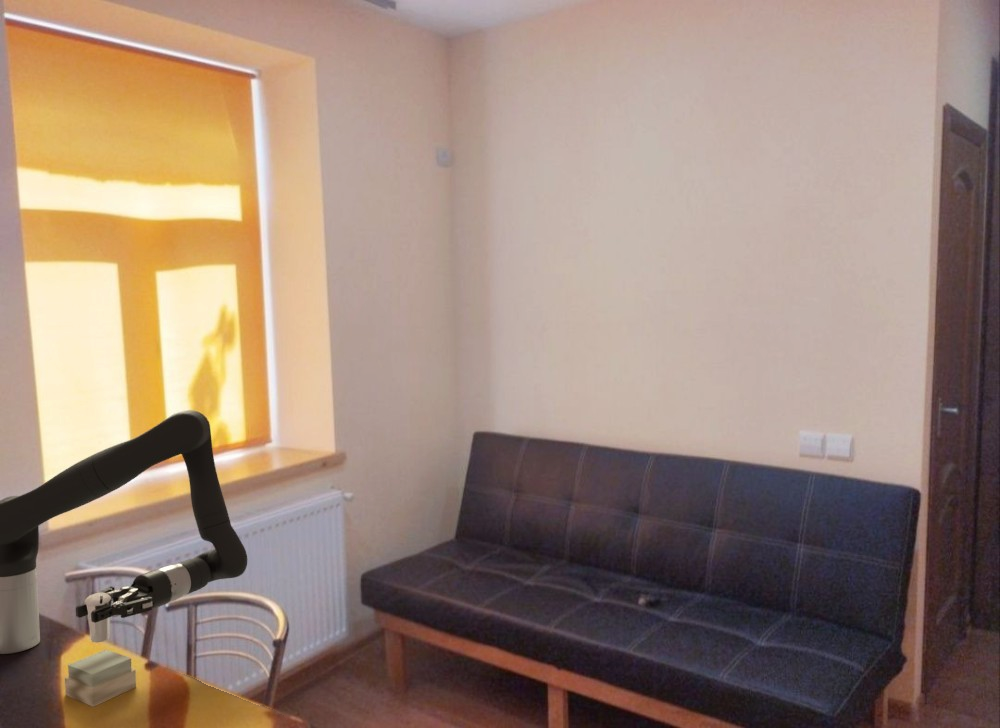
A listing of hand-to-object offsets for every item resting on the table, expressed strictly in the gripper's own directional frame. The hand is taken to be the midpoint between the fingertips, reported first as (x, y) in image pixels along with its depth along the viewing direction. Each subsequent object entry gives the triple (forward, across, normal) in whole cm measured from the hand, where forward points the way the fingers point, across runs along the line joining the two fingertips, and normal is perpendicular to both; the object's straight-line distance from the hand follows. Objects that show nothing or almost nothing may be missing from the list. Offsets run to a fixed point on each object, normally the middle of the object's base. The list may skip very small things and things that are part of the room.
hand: (85, 614), depth 152 cm
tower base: (-2, 0, +16) cm, 17 cm away
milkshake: (-3, 0, +6) cm, 7 cm away
